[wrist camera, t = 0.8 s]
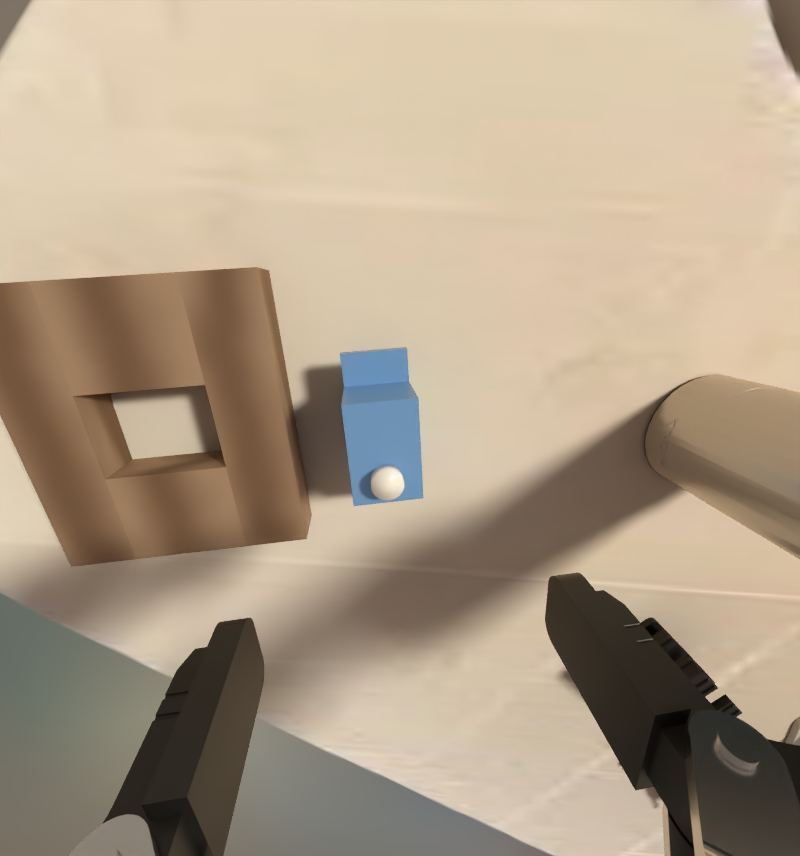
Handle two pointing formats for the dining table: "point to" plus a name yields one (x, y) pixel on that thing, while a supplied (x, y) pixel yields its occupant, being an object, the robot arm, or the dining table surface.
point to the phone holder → (794, 734)
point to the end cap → (688, 666)
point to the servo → (381, 426)
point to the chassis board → (145, 370)
